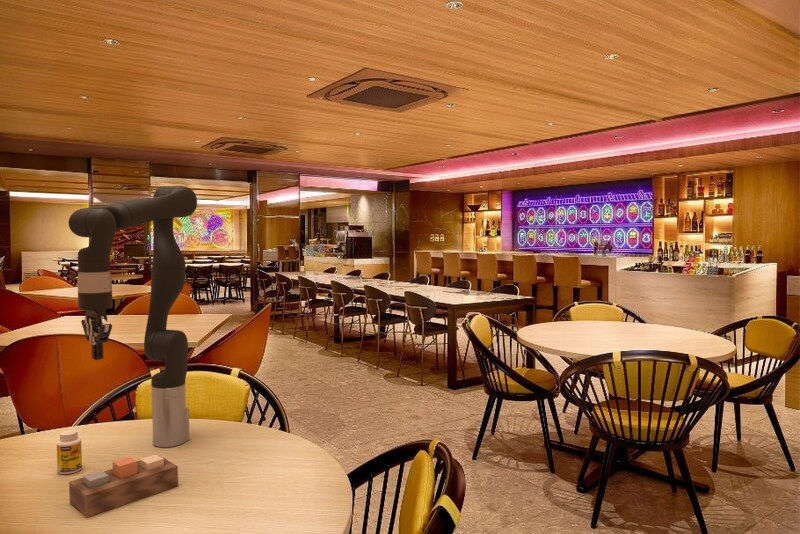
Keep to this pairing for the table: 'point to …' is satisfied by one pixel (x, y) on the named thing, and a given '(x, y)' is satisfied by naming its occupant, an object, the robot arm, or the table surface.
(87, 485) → the slate key
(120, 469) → the terracotta key
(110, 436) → the table surface
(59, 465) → the supplement bottle
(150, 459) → the ivory key
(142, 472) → the frame
